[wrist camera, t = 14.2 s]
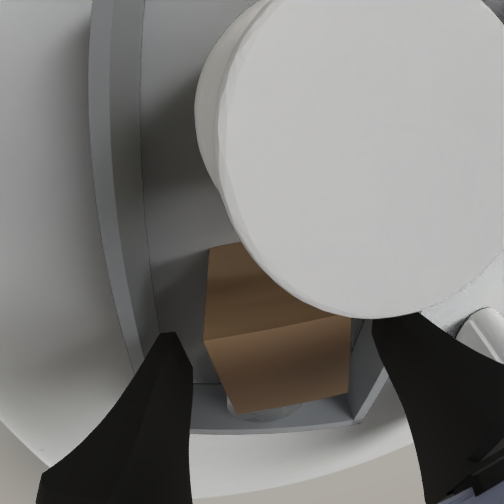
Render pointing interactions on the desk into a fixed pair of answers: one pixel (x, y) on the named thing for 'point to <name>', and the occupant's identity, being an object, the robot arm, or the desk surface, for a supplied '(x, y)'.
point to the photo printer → (484, 333)
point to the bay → (135, 239)
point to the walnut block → (269, 337)
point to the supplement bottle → (360, 147)
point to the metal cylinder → (264, 413)
